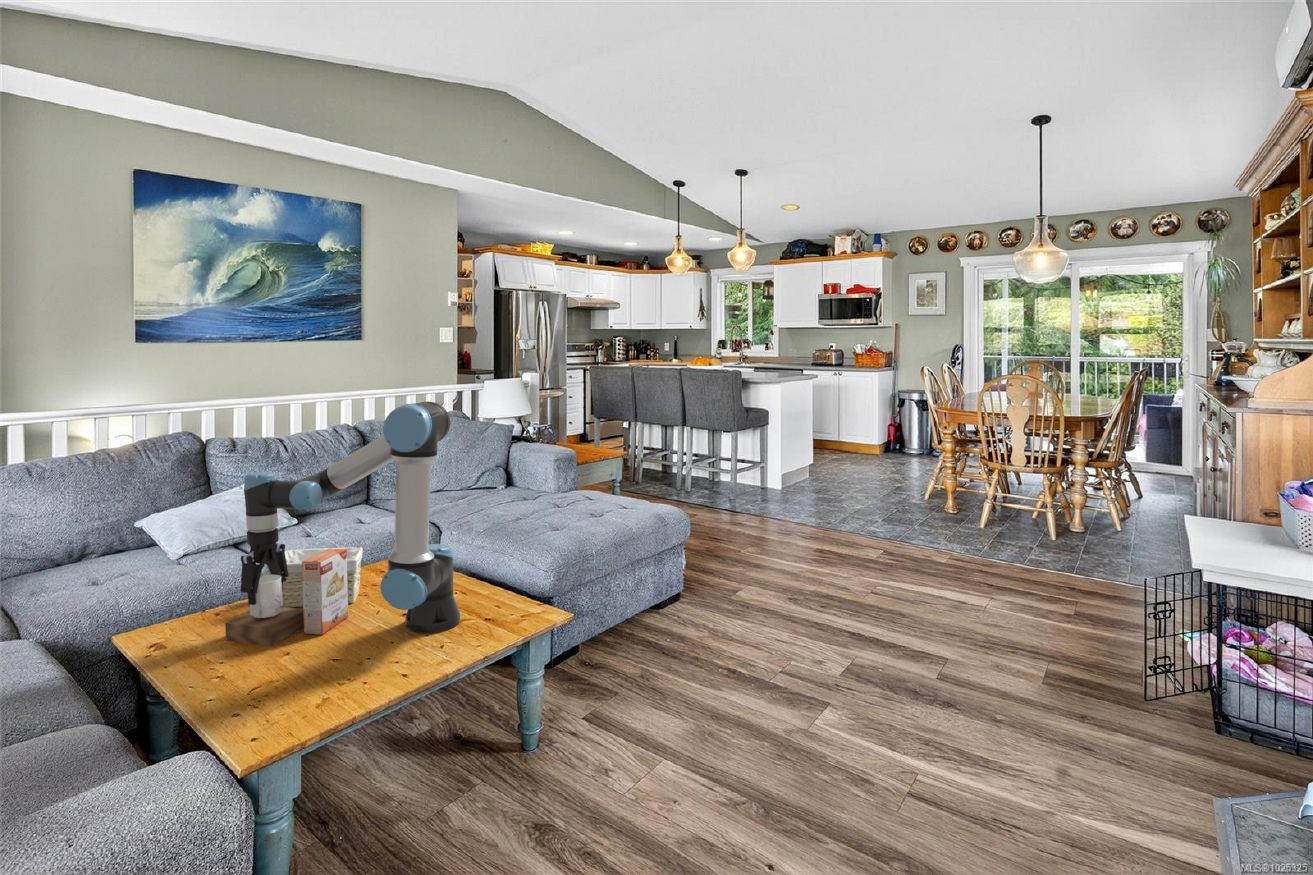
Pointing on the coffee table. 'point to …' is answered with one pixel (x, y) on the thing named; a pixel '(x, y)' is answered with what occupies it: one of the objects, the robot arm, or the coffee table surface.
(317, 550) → the storage basket
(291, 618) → the walnut block
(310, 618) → the cracker box
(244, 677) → the coffee table surface
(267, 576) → the white cup
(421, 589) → the robot arm
